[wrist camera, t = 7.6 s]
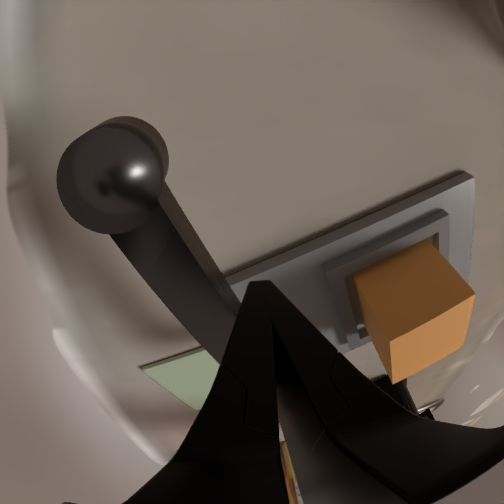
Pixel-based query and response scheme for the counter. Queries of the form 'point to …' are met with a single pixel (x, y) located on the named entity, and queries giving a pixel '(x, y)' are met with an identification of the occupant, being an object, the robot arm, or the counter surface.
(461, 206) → the socket plate
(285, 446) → the candy box
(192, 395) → the pad
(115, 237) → the black knob lever
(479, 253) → the counter surface
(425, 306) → the orange cube
